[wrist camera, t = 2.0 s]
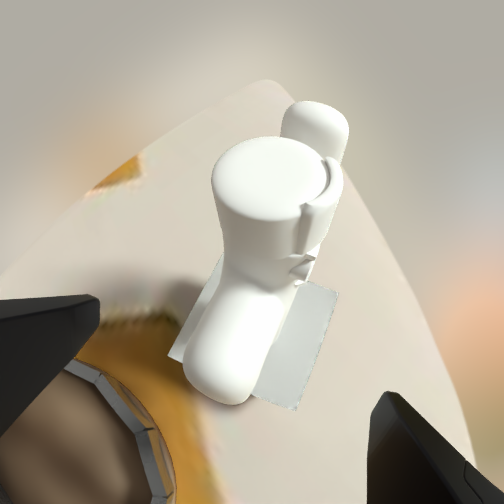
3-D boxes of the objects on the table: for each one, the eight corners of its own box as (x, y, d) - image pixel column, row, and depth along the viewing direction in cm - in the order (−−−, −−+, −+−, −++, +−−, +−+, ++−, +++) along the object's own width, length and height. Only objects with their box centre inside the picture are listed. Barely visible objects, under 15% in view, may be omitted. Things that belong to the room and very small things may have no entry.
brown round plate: (152, 591, 9) (149, 595, 8) (-19, 487, 11) (-25, 487, 10) (204, 406, 17) (202, 406, 17) (19, 327, 19) (13, 324, 18)
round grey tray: (146, 593, 9) (139, 605, 7) (-24, 487, 10) (-39, 487, 8) (198, 408, 16) (193, 406, 15) (14, 327, 18) (-1, 318, 16)
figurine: (172, 381, 18) (27, 278, 5) (234, 262, 22) (229, 60, 10) (278, 428, 17) (385, 450, 4) (328, 300, 21) (429, 121, 8)
